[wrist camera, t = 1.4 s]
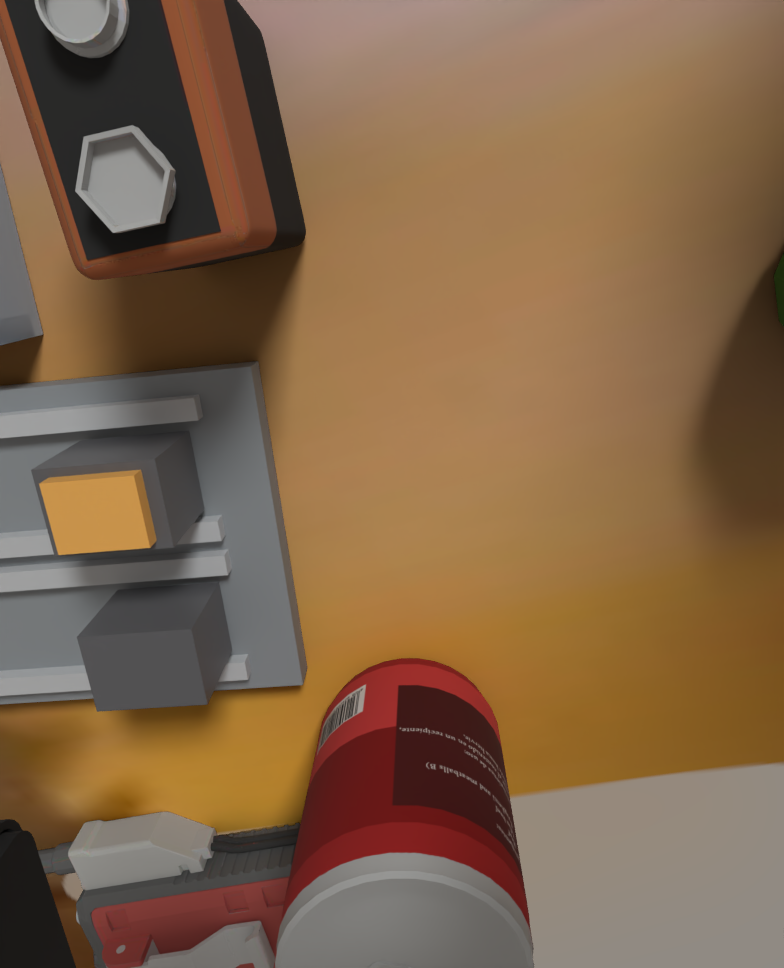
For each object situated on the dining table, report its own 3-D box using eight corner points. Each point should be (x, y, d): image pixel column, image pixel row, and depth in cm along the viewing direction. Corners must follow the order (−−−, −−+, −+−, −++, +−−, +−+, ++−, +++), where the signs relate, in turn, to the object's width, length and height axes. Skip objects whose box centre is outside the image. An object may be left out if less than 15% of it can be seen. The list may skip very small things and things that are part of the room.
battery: (191, 269, 25) (54, 287, 16) (132, 53, 23) (-68, -74, 14) (311, 243, 25) (244, 246, 15) (262, 21, 23) (149, -133, 13)
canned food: (323, 802, 33) (278, 1065, 22) (318, 648, 30) (264, 866, 20) (493, 807, 32) (527, 1077, 22) (503, 653, 30) (546, 875, 19)
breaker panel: (-156, 400, 27) (-194, 411, 26) (258, 361, 26) (246, 369, 25) (-54, 691, 31) (-81, 717, 30) (307, 668, 30) (300, 693, 29)
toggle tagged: (80, 440, 26) (20, 476, 22) (189, 430, 26) (147, 465, 22) (99, 517, 27) (45, 564, 23) (204, 509, 27) (167, 555, 23)
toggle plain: (117, 589, 28) (76, 637, 24) (218, 582, 28) (191, 629, 24) (134, 656, 29) (97, 711, 25) (232, 650, 28) (207, 704, 25)
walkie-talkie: (334, 770, 33) (-63, 841, 35) (322, 849, 28) (-129, 923, 31) (382, 914, 35) (10, 971, 37) (377, 1005, 31) (-41, 1062, 33)
